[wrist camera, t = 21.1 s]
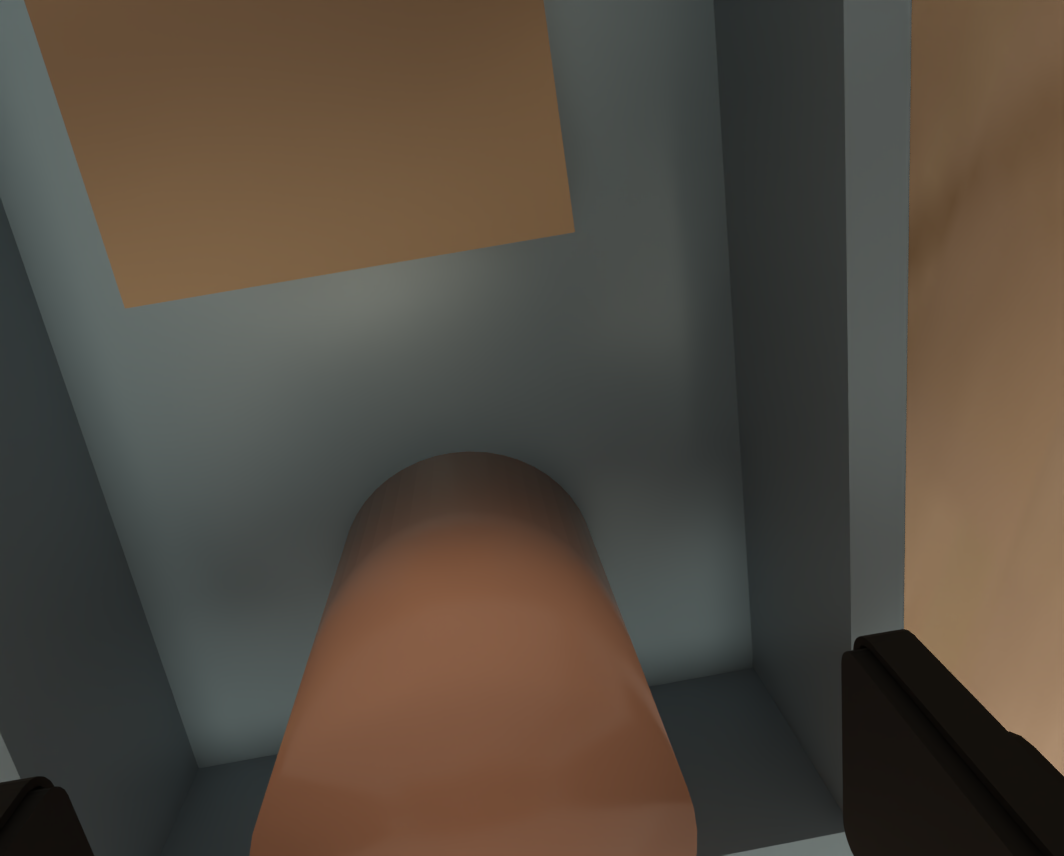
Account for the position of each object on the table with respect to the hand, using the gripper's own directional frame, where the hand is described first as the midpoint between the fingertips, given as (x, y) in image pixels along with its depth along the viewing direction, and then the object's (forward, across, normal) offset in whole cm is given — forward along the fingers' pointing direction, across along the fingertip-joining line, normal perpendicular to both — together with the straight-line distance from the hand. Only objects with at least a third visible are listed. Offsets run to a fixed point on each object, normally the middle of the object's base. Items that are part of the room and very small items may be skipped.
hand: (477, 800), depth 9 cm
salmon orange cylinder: (+6, 0, 0) cm, 6 cm away
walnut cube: (+6, 0, -9) cm, 11 cm away
